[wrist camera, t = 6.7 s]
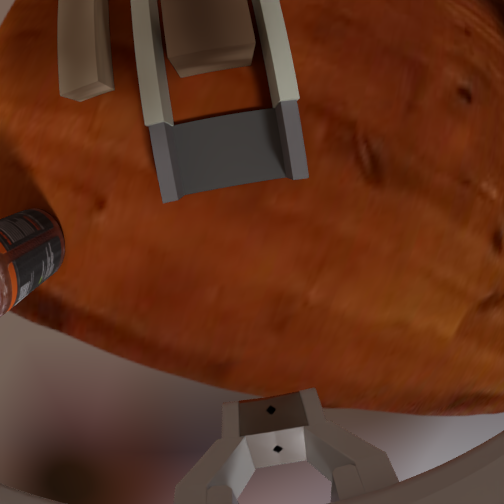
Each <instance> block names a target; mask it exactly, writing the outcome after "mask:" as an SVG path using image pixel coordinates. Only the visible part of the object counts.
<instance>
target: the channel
mask: <svg viewBox="0 0 504 504" xmlns="http://www.w3.org/2000/svg"><path fill="white" fill-rule="evenodd" d="M252 4H253V9H254V13H255V18H256V23H257V27H258V32H259V37H260V42H261V47H262V52H263V57H264V63H265V68H266V73H267V78H268V84H269V89H270V95H271V100H272V106H273V108H270V109H263V110H255V111H248V112H242V113H236V114H230V115H224V116H218V117H213V118H207V119H202V120H197V121H192V122H188V123H183V124H178V125H174V122H173V116H172V109H171V103H170V97H169V90H168V83H167V76H166V69H165V62H164V55H163V47H162V39H161V31H160V23H159V14H158V5H157V0H131V13H132V25H133V36H134V46H135V56H136V65H137V73H138V81H139V88H140V96H141V103H142V109H143V116H144V122H145V126H148V127H149V131H150V137H151V143H152V149H153V154H154V160H155V165H156V171H157V176H158V181H159V186H160V191H161V196H162V201H163V203H166V202H171V201H176V200H179V199H180V198H181V197H183V196H184V195H187V194H192V193H197V192H202V191H207V190H213V189H218V188H224V187H229V186H235V185H241V184H246V183H252V182H259V181H265V180H271V179H278V178H284V177H287V178H290V179H292V180H296V179H303V178H309V175H308V168H307V161H306V154H305V148H304V141H303V135H302V129H301V123H300V117H299V111H298V105H297V100H298V99H299V98H300V97H299V92H298V86H297V81H296V76H295V71H294V66H293V61H292V56H291V51H290V46H289V42H288V37H287V33H286V28H285V24H284V20H283V15H282V11H281V7H280V3H279V0H252Z"/></svg>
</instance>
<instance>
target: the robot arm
mask: <svg viewBox="0 0 504 504" xmlns="http://www.w3.org/2000/svg"><path fill="white" fill-rule="evenodd" d="M304 460H307V462H309V463H310V464H311V465H312V466H313V467H314V468H315V469H317V470H318V471H319V472H320V473H321V474H322V475H324V476H325V477H326V478H327V479H328V480H330V481H331V482H332V487H331V503H329V504H504V431H502V432H501V433H499V434H497V435H496V436H494V437H493V438H491V439H489V440H488V441H486V442H484V443H483V444H481V445H479V446H477V447H475V448H473V449H471V450H470V451H468V452H466V453H464V454H462V455H460V456H458V457H456V458H454V459H452V460H450V461H448V462H446V463H444V464H442V465H440V466H437V467H435V468H433V469H431V470H428V471H426V472H424V473H421V474H419V475H416V476H414V477H411V478H409V479H406V480H404V481H401V482H399V480H398V478H397V476H396V474H395V472H394V469H393V467H392V465H391V463H390V461H389V458H388V457H387V454H386V452H384V451H382V450H380V449H378V448H377V447H375V446H373V445H371V444H370V443H368V442H366V441H364V440H362V439H361V438H359V437H358V436H355V435H354V434H352V433H351V432H349V431H347V430H346V429H344V428H342V427H341V426H339V425H337V424H336V423H334V422H333V421H328V422H327V421H326V418H325V415H324V412H323V409H322V406H321V403H320V400H319V397H318V394H317V391H316V389H315V388H310V389H306V390H301V391H297V392H292V393H287V394H282V395H276V396H271V397H265V398H258V399H250V400H241V401H236V402H225V403H223V407H222V439H218V440H216V441H215V443H214V444H213V445H212V446H211V447H210V448H209V450H208V451H207V452H206V453H205V454H204V456H202V458H201V459H200V460H199V461H198V462H197V463H196V464H195V465H194V467H193V468H192V469H191V470H190V471H189V472H188V473H187V474H186V475H185V477H184V478H183V479H182V480H181V481H180V482H179V483H178V484H177V485H176V488H175V497H174V504H239V503H238V501H237V499H238V497H239V496H240V494H241V492H242V491H243V489H244V487H245V486H246V484H247V483H248V481H249V479H250V478H251V476H252V474H253V473H254V471H255V468H262V467H268V466H273V465H279V464H286V463H292V462H299V461H304ZM0 504H64V503H60V502H56V501H52V500H49V499H45V498H42V497H39V496H35V495H32V494H29V493H26V492H23V491H20V490H17V489H14V488H11V487H9V486H6V485H3V484H0Z"/></svg>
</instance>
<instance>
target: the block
mask: <svg viewBox="0 0 504 504" xmlns="http://www.w3.org/2000/svg"><path fill="white" fill-rule="evenodd" d="M161 8H162V16H163V25H164V33H165V41H166V48H167V56H168V59H169V61H170V62H171V64H172V65H173V67H174V68H175V70H176V71H177V73H178V74H179V76H180V77H181V78H182V77H187V76H192V75H197V74H202V73H207V72H212V71H218V70H224V69H230V68H237V67H244V66H251V62H252V57H253V53H254V48H255V44H256V41H255V36H254V31H253V26H252V22H251V17H250V12H249V7H248V3H247V0H161Z"/></svg>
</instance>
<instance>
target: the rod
mask: <svg viewBox="0 0 504 504" xmlns="http://www.w3.org/2000/svg"><path fill="white" fill-rule="evenodd" d="M57 41H58V73H59V89H60V96H63V97H66V98H69V99H73V100H76V101H79V102H81V101H83V100H86V99H89V98H92V97H95V96H97V95H100V94H103V93H106V92H109V91H112V90H115V87H114V78H113V68H112V57H111V45H110V30H109V9H108V0H58V32H57Z"/></svg>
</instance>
